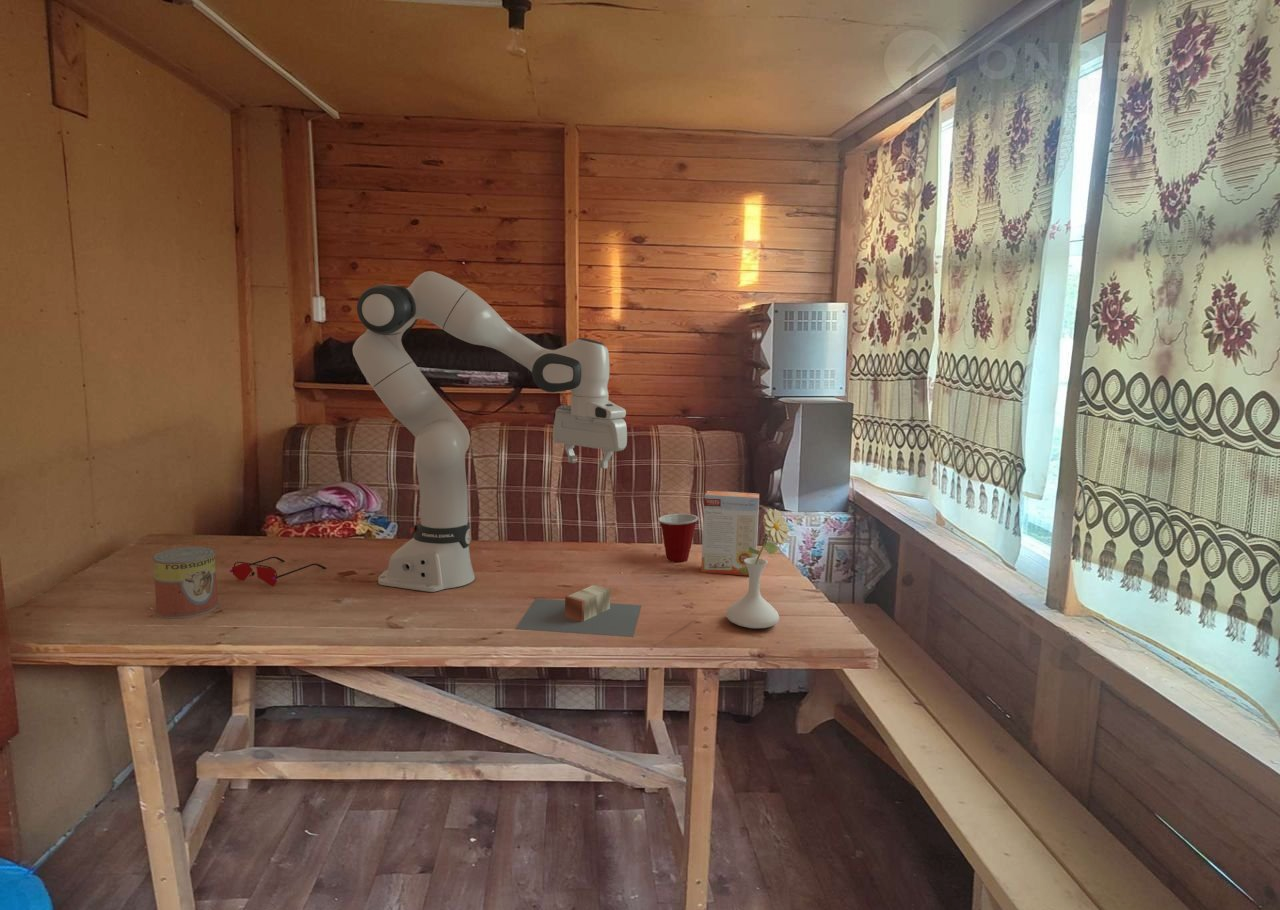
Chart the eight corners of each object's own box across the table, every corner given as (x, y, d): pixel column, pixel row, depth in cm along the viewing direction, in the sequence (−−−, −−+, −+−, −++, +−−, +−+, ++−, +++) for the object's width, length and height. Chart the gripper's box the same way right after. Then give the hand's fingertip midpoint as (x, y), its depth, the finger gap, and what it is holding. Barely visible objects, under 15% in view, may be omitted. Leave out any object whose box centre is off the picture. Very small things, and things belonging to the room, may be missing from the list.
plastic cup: (656, 553, 212) (658, 511, 210) (695, 554, 211) (697, 512, 210) (656, 564, 201) (657, 520, 199) (696, 566, 201) (698, 522, 199)
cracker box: (755, 570, 199) (760, 492, 196) (755, 577, 193) (759, 497, 190) (702, 566, 201) (706, 489, 198) (700, 572, 195) (704, 493, 192)
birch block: (609, 608, 166) (581, 622, 157) (593, 604, 168) (564, 617, 160) (610, 588, 165) (582, 601, 157) (593, 584, 167) (565, 596, 159)
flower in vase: (743, 636, 155) (749, 517, 151) (715, 617, 165) (721, 505, 161) (796, 628, 160) (804, 513, 156) (766, 610, 170) (773, 501, 166)
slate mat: (515, 632, 153) (515, 628, 153) (535, 601, 170) (535, 598, 170) (633, 640, 151) (633, 636, 151) (641, 608, 168) (641, 605, 168)
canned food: (176, 622, 152) (172, 565, 151) (144, 611, 158) (140, 555, 156) (229, 606, 162) (226, 552, 160) (198, 595, 168) (195, 543, 166)
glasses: (229, 581, 179) (228, 561, 178) (283, 562, 194) (283, 543, 193) (274, 589, 174) (273, 568, 173) (327, 569, 189) (326, 550, 189)
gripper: (547, 404, 182) (546, 461, 184) (615, 412, 171) (613, 472, 173) (564, 403, 187) (563, 458, 190) (631, 411, 176) (629, 469, 178)
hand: (587, 465), depth 181 cm, fingers open, 8 cm apart
